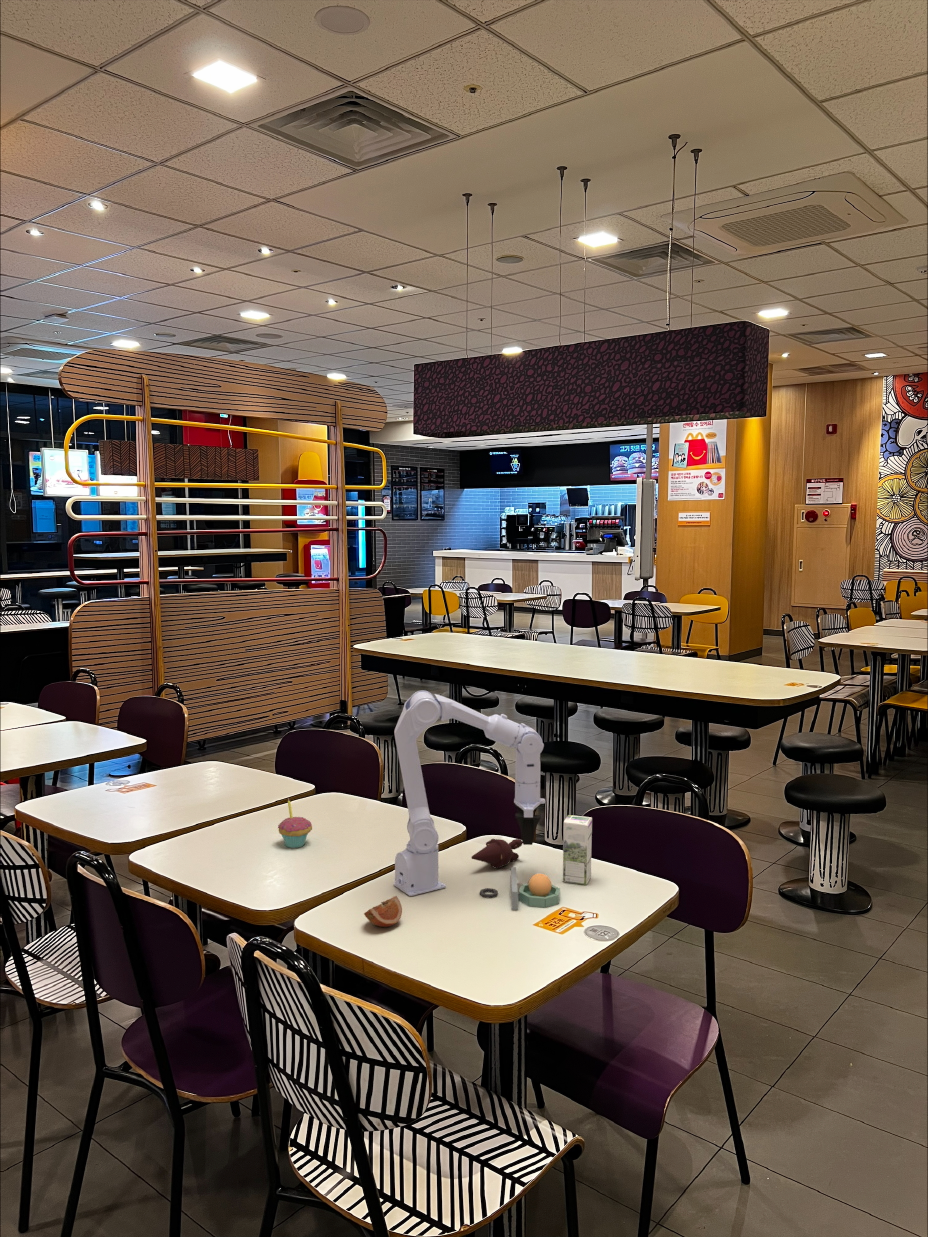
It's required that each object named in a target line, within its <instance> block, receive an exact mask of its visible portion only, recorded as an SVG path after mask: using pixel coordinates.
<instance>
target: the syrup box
mask: <svg viewBox="0 0 928 1237" xmlns="http://www.w3.org/2000/svg"><path fill="white" fill-rule="evenodd" d="M592 834H593V817H592V816H591V817H589V816H584V815H583V816H582V815H581V816H580V815H570V814H568V815H567V816H566V817H565V819H564V821H563V836H562V837H563V839H562V840H563V842H562V843H563V844H562V845H563V846H562V852H563V853H562V882H563V883H569V884H577V885H584V886H586V885H588V884H589V881H590V880H591V877H592V839H593V838H592V837H593V836H592Z"/></svg>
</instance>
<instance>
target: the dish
mask: <svg viewBox="0 0 928 1237" xmlns="http://www.w3.org/2000/svg"><path fill="white" fill-rule="evenodd" d="M551 885H552V887H551V891H550V893H549V894H548V895H547V896H545V897H539V896H534V895H533V894H532V893H531V892H530V890H529V882H528V883H524V884H521V885H520V888H519V891H518V901H519V902H521V903H522V904H525V905H526V906H527V907H533V908H543V909H545V908H549V907H552V906H556V905H558V904H559V903H560V900H561V888H560V887H558V886H556V885H555V884H552V883H551Z"/></svg>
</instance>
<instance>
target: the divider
mask: <svg viewBox="0 0 928 1237" xmlns="http://www.w3.org/2000/svg"><path fill="white" fill-rule="evenodd" d="M517 872H518V871H517V867H513V866H510V895H511V896H510V898H511V900H510V901H511V902H510V903H511V910H512V911H518V901H519V891H518V875H517Z"/></svg>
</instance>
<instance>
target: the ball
mask: <svg viewBox="0 0 928 1237" xmlns="http://www.w3.org/2000/svg"><path fill="white" fill-rule="evenodd" d="M528 883H529V890H530V892H531V893H532V894H533V895H534V896H539V897H545V896H547V895H548V894H549V893H550V891H551V887H552V885H553V884H552V881H551V879H550V878H549V876H548V875H547V874H544V873H536V874H534V875H532V876H531V878H530V879H529V881H528ZM551 884H552V885H551Z"/></svg>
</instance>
